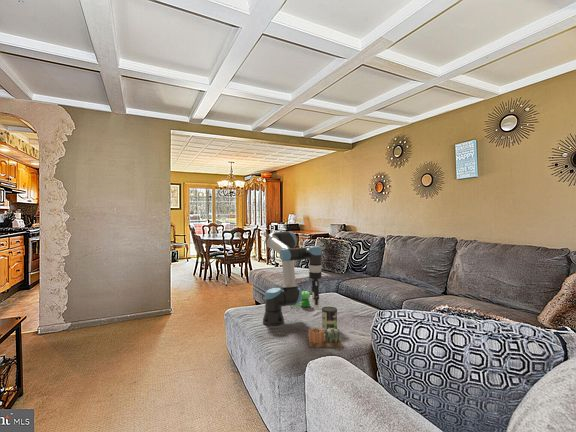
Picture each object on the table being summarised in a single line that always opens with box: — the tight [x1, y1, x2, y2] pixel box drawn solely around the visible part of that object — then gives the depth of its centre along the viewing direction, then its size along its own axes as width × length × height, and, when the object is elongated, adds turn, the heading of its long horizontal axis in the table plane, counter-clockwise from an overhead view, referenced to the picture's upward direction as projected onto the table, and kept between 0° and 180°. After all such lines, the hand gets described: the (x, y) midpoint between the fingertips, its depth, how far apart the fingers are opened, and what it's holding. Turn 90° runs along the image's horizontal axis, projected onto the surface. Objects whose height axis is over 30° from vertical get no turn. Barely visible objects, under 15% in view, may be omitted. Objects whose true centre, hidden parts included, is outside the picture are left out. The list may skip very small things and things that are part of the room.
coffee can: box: [321, 306, 338, 333], centre depth 201 cm, size 10×10×14 cm
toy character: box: [289, 289, 311, 309], centre depth 250 cm, size 10×18×13 cm, turn 94°
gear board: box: [307, 327, 344, 349], centre depth 182 cm, size 19×14×8 cm
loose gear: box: [308, 327, 325, 344], centre depth 182 cm, size 9×9×6 cm
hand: (315, 306), depth 184 cm, fingers open, 13 cm apart
